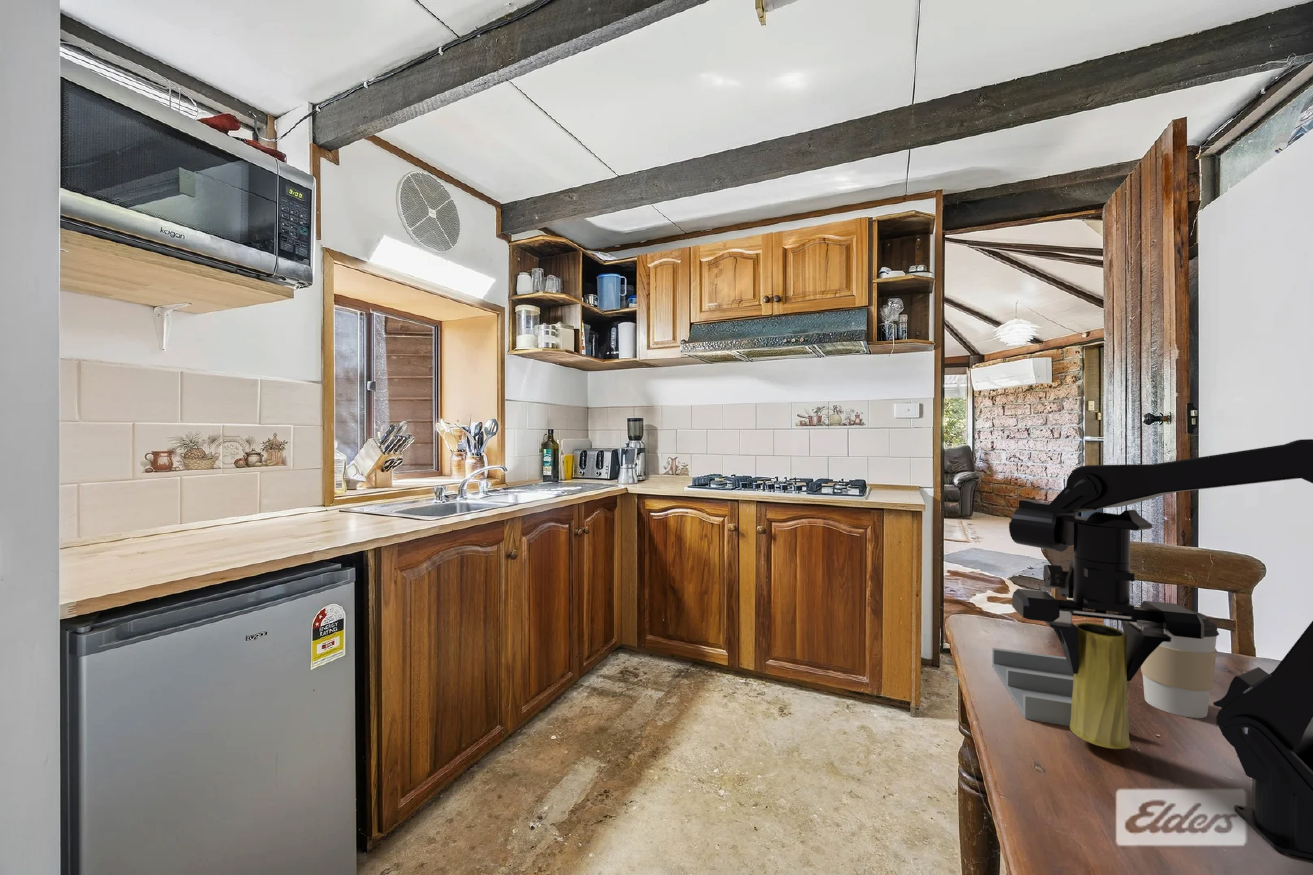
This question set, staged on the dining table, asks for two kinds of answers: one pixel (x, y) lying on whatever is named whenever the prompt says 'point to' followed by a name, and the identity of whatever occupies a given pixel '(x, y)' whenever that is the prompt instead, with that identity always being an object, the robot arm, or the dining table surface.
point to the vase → (1101, 687)
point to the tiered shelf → (1037, 684)
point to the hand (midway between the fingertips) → (1099, 676)
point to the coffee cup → (1182, 673)
